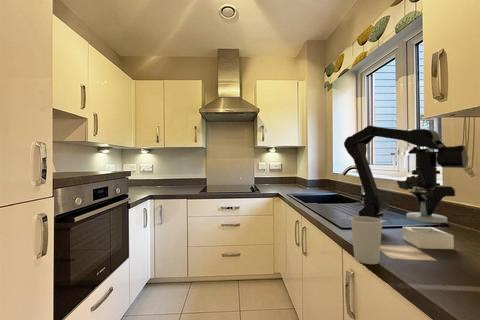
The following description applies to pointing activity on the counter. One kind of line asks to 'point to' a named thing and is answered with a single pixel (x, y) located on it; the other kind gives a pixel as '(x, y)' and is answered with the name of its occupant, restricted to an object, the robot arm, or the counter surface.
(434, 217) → the lid
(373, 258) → the cup
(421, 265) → the counter surface
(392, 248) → the mat
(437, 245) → the dish
